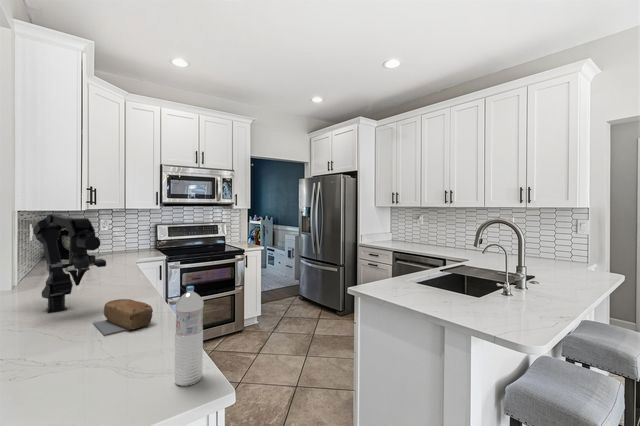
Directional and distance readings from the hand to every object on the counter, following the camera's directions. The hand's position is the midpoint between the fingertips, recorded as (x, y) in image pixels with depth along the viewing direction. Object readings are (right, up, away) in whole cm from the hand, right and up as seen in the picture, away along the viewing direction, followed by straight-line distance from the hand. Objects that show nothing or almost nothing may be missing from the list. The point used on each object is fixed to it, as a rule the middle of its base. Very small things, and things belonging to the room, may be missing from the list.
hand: (77, 285), depth 126 cm
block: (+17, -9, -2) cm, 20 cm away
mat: (+24, -13, -9) cm, 29 cm away
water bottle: (+66, -15, -45) cm, 82 cm away
